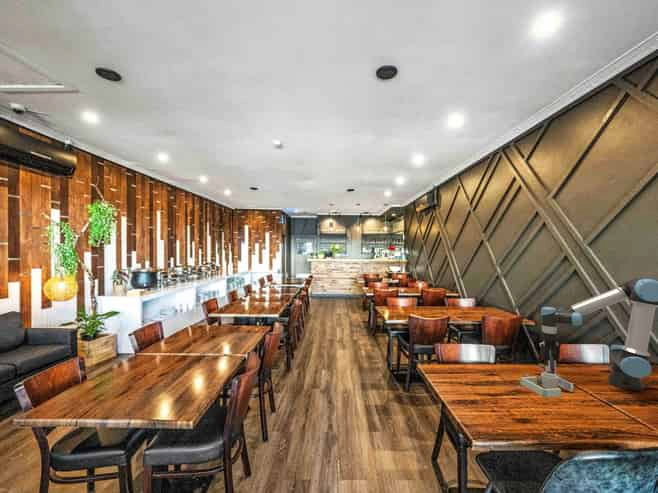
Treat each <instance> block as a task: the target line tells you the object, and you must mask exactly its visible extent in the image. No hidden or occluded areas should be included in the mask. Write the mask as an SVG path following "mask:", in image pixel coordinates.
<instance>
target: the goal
mask: <svg viewBox="0 0 658 493" xmlns="http://www.w3.org/2000/svg"><path fill="white" fill-rule="evenodd" d="M537 377H538V376H528V377H523V376H521V377H519V378H520V379H519V380H520V385H521V386H523V387H525V388H527V389H528V390H530V391H533V393H536V394H537V395H539V396H541V397H543V398H544V399H546V398H547V399H548V398H559V397H562V389H561V387H559V388H558V387H557V388H555V389H545V388H544V387H541V386H540V385H538V383H537Z"/></svg>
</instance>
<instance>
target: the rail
mask: <svg viewBox="0 0 658 493" xmlns="http://www.w3.org/2000/svg"><path fill="white" fill-rule="evenodd" d="M559 375H560V374H559ZM560 376H561V379H564V376H563V375H560ZM522 377H529V376H528V375H525V374H522ZM536 377H537V384H540V383H542V378H541V376H536Z"/></svg>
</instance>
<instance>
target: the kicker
mask: <svg viewBox="0 0 658 493" xmlns="http://www.w3.org/2000/svg"><path fill="white" fill-rule="evenodd" d="M549 361H550V372H549V371H547V370H544V371H543V370H542V371H541V373H551V374H554V375H556V376H558V377H559V378H561V376H562V375H561V376H560V374H558V373H557V372H555V371H554V358H553V355H551V354H549ZM541 373H540V374H541ZM562 381H563V383H562V385H561V386H559V388H563V389H564V390H567V391H569V392H570V393H571V392H574V383H572V382H570V381H568V380H566V379H564V378H563V379H562ZM558 384H560V379H559V380H558Z"/></svg>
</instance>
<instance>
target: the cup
mask: <svg viewBox="0 0 658 493" xmlns="http://www.w3.org/2000/svg"><path fill="white" fill-rule="evenodd" d="M540 377H541V378H542V384H541V385H542V388H543V389H555V388H558V387H560V386H561V385H562V383H563V381H562V379H561V378H559V377H558V376H556V375H554V374H551V373H540ZM559 379H560V384H558V380H559Z"/></svg>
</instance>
